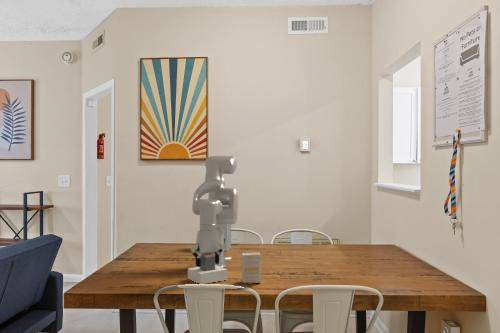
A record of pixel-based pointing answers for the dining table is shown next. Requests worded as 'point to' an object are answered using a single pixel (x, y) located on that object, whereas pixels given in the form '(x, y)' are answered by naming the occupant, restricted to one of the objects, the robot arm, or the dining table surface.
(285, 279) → the dining table surface
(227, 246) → the hard drive box
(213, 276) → the socket block
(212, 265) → the grey cylinder
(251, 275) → the supplement box
